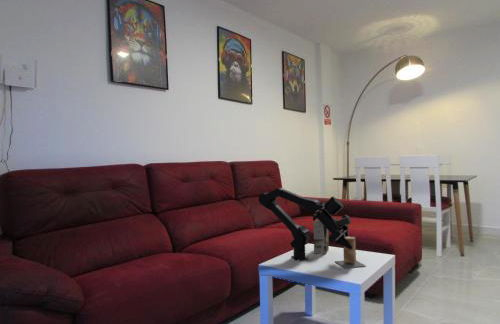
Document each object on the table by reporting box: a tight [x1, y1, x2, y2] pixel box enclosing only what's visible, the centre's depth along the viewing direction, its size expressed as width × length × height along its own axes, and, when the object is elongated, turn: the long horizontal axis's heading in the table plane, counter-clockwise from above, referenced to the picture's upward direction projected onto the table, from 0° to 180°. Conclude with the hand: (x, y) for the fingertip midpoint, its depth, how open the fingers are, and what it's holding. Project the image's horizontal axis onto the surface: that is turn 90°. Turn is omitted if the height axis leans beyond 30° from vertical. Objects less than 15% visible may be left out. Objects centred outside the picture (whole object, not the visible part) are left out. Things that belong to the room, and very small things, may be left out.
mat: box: [334, 259, 366, 269], centre depth 163 cm, size 10×10×1 cm
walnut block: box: [342, 235, 357, 264], centre depth 162 cm, size 4×4×11 cm
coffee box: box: [313, 219, 330, 255], centre depth 185 cm, size 9×6×16 cm
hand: (352, 247), depth 162 cm, fingers open, 5 cm apart
